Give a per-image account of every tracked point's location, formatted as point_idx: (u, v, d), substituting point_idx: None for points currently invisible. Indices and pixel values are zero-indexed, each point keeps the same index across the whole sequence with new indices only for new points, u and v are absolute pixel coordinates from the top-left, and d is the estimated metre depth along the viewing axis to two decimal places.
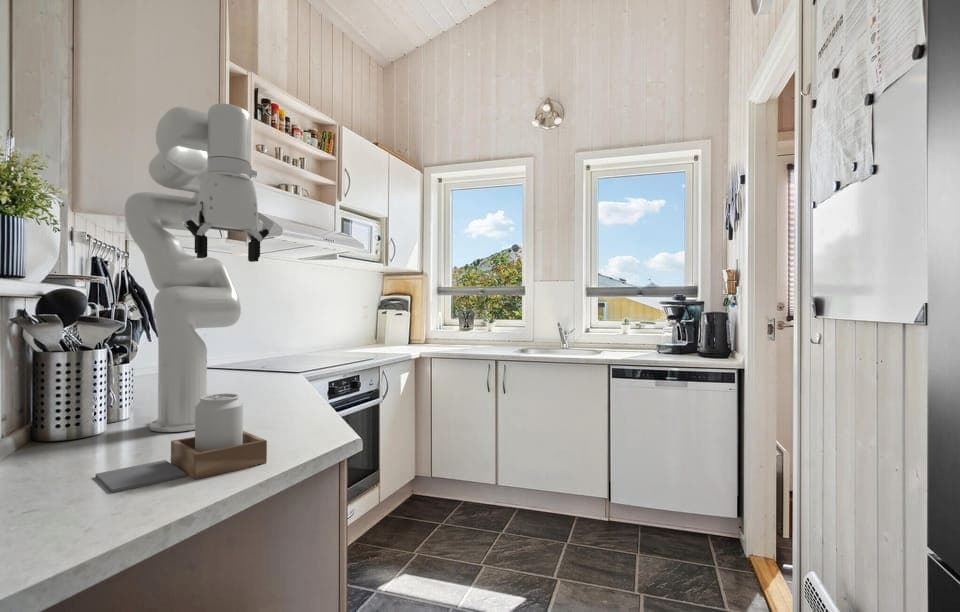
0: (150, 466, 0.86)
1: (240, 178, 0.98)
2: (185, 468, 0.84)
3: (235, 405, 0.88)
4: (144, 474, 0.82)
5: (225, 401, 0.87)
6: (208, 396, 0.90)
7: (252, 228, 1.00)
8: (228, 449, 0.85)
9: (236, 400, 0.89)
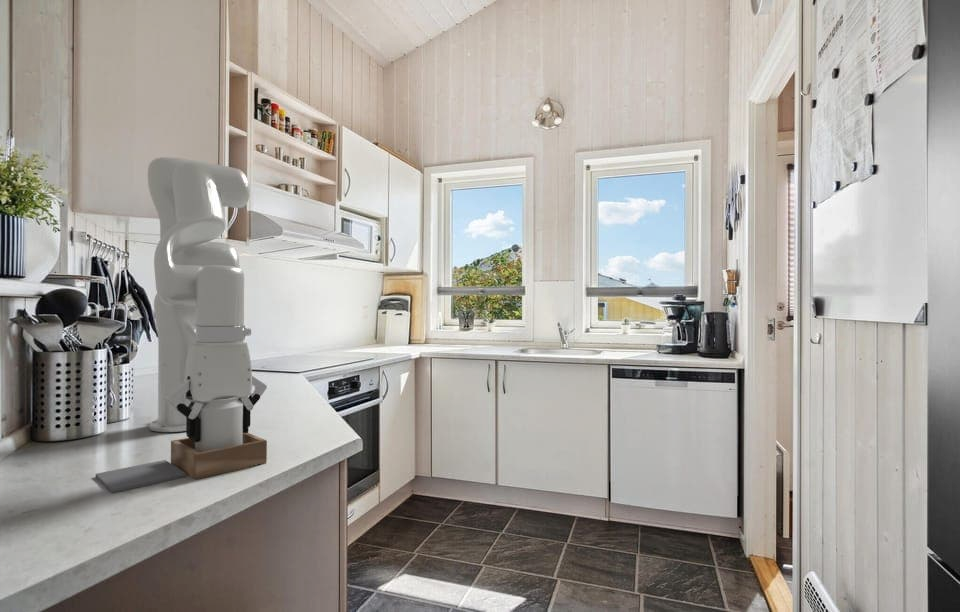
0: (150, 466, 0.86)
1: (232, 344, 0.89)
2: (185, 468, 0.84)
3: (235, 405, 0.88)
4: (144, 474, 0.82)
5: (225, 401, 0.87)
6: None
7: (246, 395, 0.91)
8: (228, 449, 0.85)
9: (236, 400, 0.89)
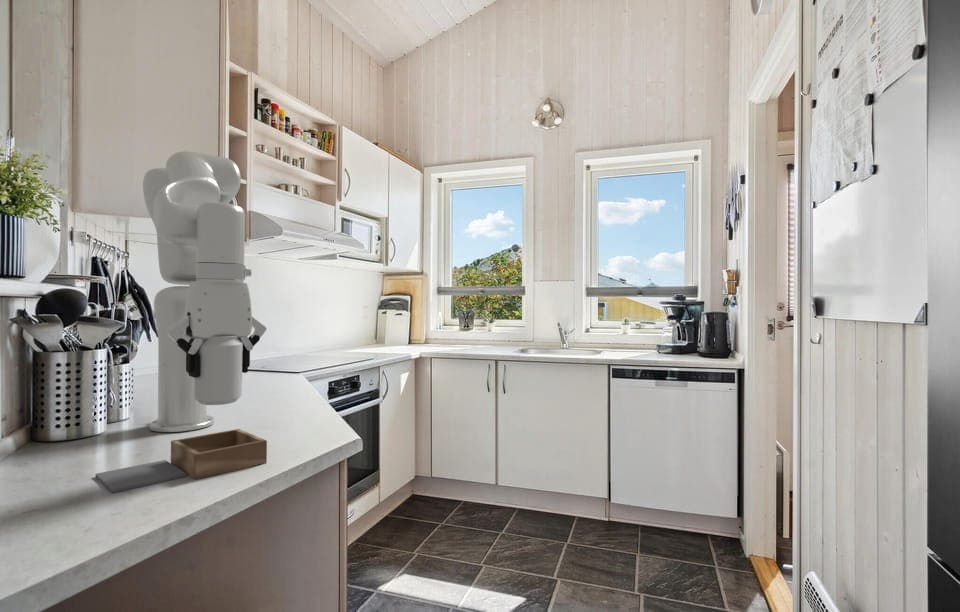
0: (150, 466, 0.86)
1: (232, 283, 0.89)
2: (185, 468, 0.84)
3: (235, 343, 0.89)
4: (144, 474, 0.82)
5: (225, 339, 0.88)
6: None
7: (245, 335, 0.91)
8: (228, 449, 0.85)
9: (236, 339, 0.90)
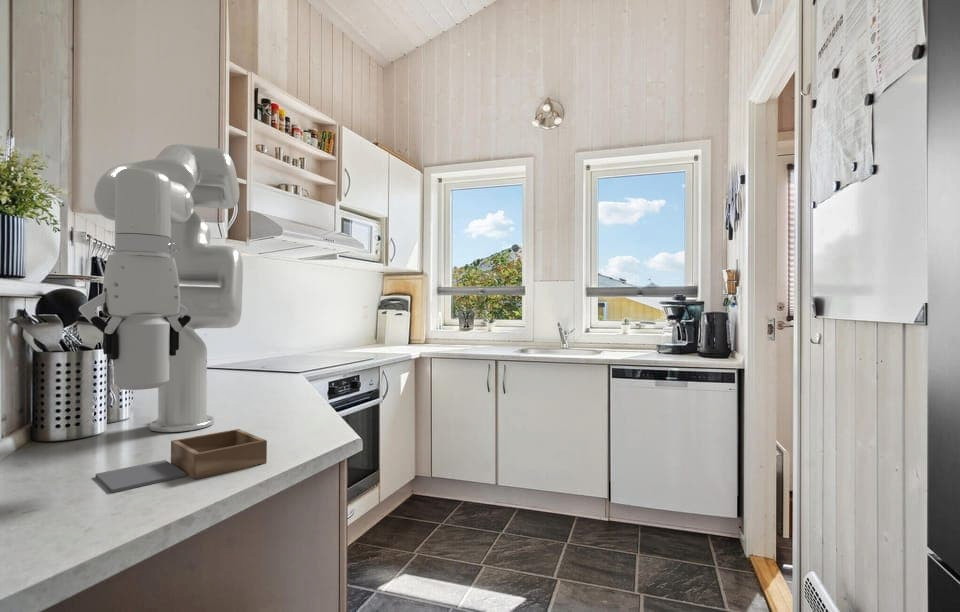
0: (150, 466, 0.86)
1: (155, 257, 0.81)
2: (185, 468, 0.84)
3: (159, 322, 0.81)
4: (144, 474, 0.82)
5: (146, 317, 0.80)
6: None
7: (172, 314, 0.84)
8: (228, 449, 0.85)
9: (161, 318, 0.82)
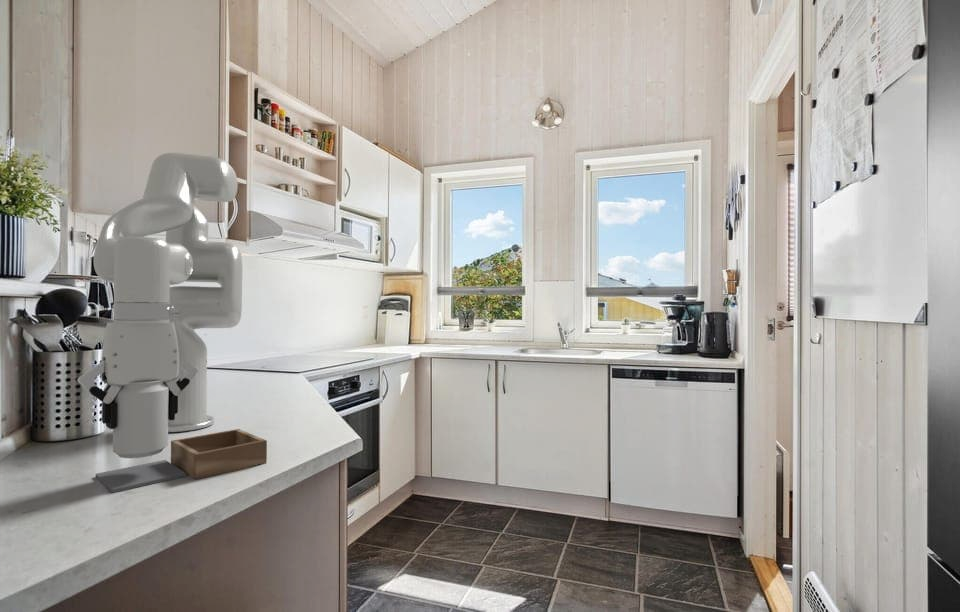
0: (150, 466, 0.86)
1: (155, 323, 0.81)
2: (185, 468, 0.84)
3: (158, 389, 0.81)
4: (144, 474, 0.82)
5: (145, 385, 0.80)
6: None
7: (171, 379, 0.84)
8: (228, 449, 0.85)
9: (160, 384, 0.82)
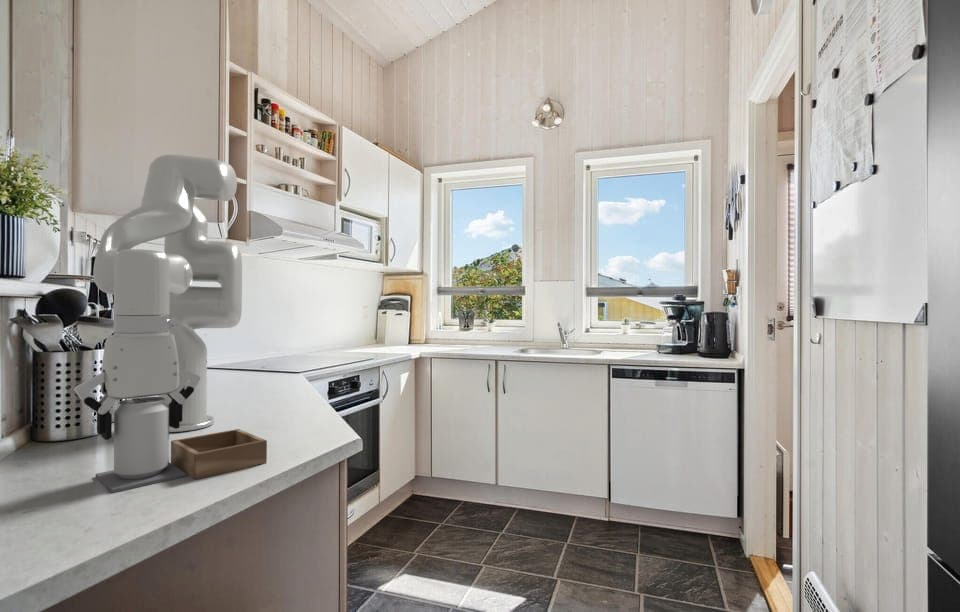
0: None
1: (154, 336, 0.81)
2: (185, 468, 0.84)
3: (158, 409, 0.82)
4: None
5: (145, 406, 0.80)
6: (131, 400, 0.84)
7: (171, 391, 0.84)
8: (228, 449, 0.85)
9: (160, 404, 0.83)
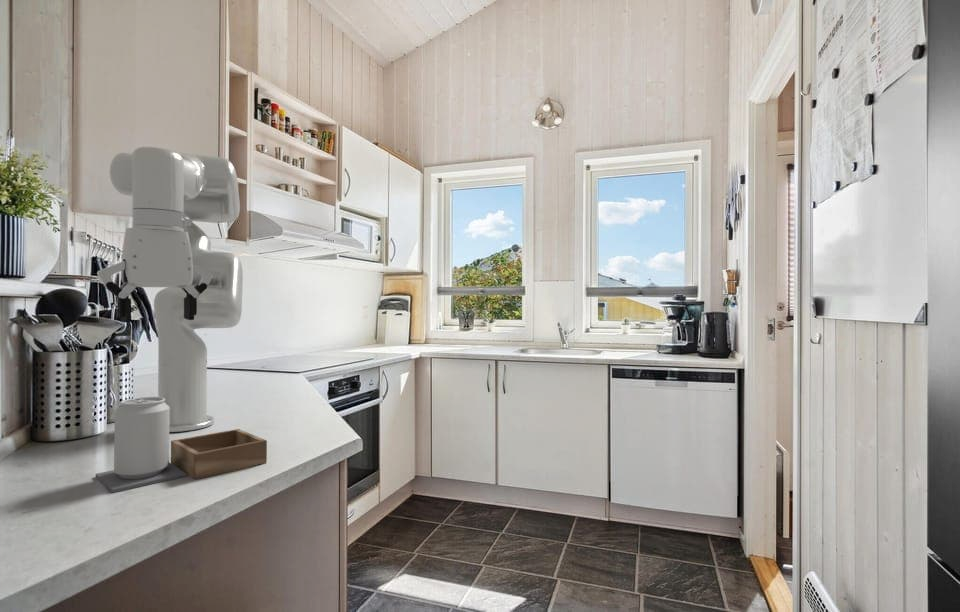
0: None
1: (170, 230, 0.87)
2: (185, 468, 0.84)
3: (158, 410, 0.82)
4: None
5: (146, 406, 0.80)
6: (132, 400, 0.84)
7: (186, 285, 0.90)
8: (228, 449, 0.85)
9: (160, 404, 0.83)
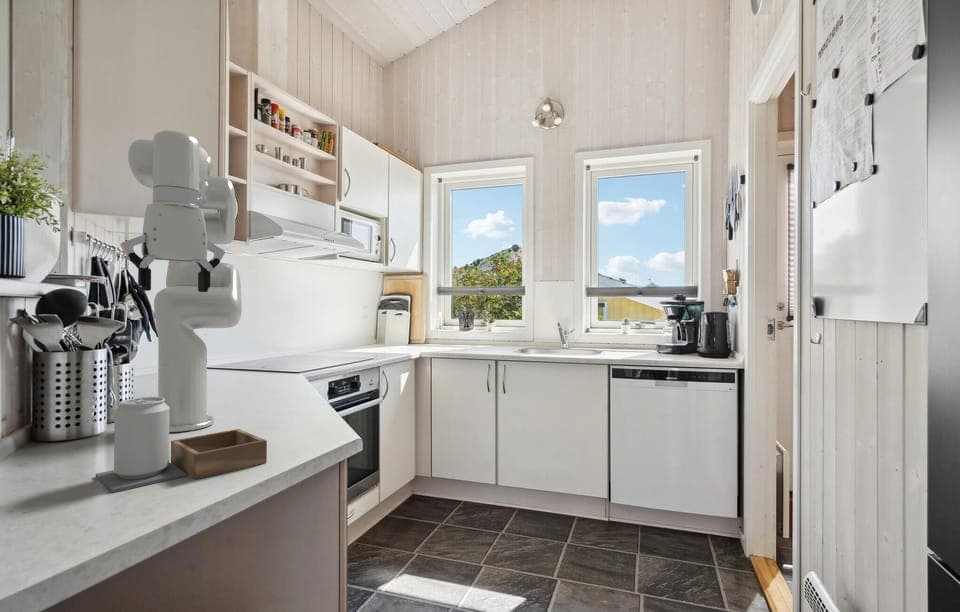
0: None
1: (187, 207, 0.95)
2: (185, 468, 0.84)
3: (158, 410, 0.81)
4: None
5: (146, 406, 0.80)
6: (132, 400, 0.84)
7: (201, 258, 0.97)
8: (228, 449, 0.85)
9: (160, 404, 0.83)
